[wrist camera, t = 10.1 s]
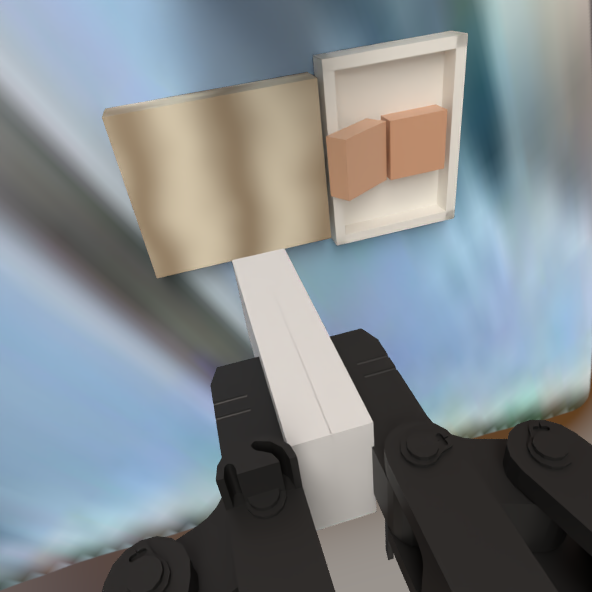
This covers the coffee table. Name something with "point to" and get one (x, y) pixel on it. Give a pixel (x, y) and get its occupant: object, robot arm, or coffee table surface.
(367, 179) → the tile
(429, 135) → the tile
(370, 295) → the coffee table surface
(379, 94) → the tray
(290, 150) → the board
